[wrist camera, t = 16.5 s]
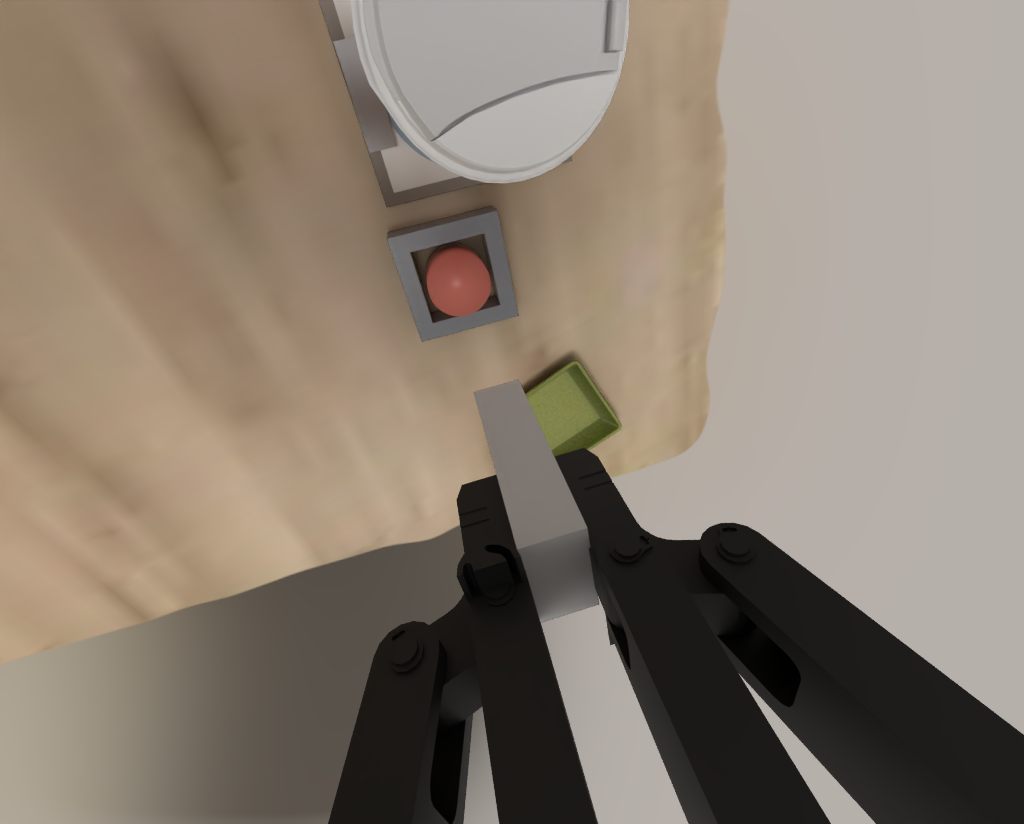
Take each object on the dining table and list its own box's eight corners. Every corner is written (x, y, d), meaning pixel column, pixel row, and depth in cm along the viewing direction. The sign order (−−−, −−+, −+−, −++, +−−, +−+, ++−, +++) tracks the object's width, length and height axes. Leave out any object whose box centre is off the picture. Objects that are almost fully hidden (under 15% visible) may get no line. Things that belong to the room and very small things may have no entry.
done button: (417, 252, 30) (419, 262, 27) (476, 236, 30) (482, 245, 28) (435, 309, 32) (438, 323, 30) (490, 294, 32) (496, 307, 30)
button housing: (387, 232, 29) (386, 239, 28) (492, 205, 30) (497, 210, 28) (421, 331, 33) (422, 342, 31) (512, 306, 34) (518, 315, 32)
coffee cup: (527, -23, 23) (671, -198, 11) (527, 159, 28) (631, 181, 15) (360, -28, 22) (307, -234, 10) (388, 164, 26) (377, 193, 14)
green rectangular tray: (615, 415, 41) (624, 428, 40) (537, 467, 43) (542, 482, 41) (569, 347, 37) (577, 358, 35) (483, 408, 38) (487, 421, 36)
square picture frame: (309, -31, 22) (304, -39, 21) (541, -82, 23) (548, -92, 22) (387, 206, 28) (386, 209, 27) (569, 160, 29) (575, 161, 28)
